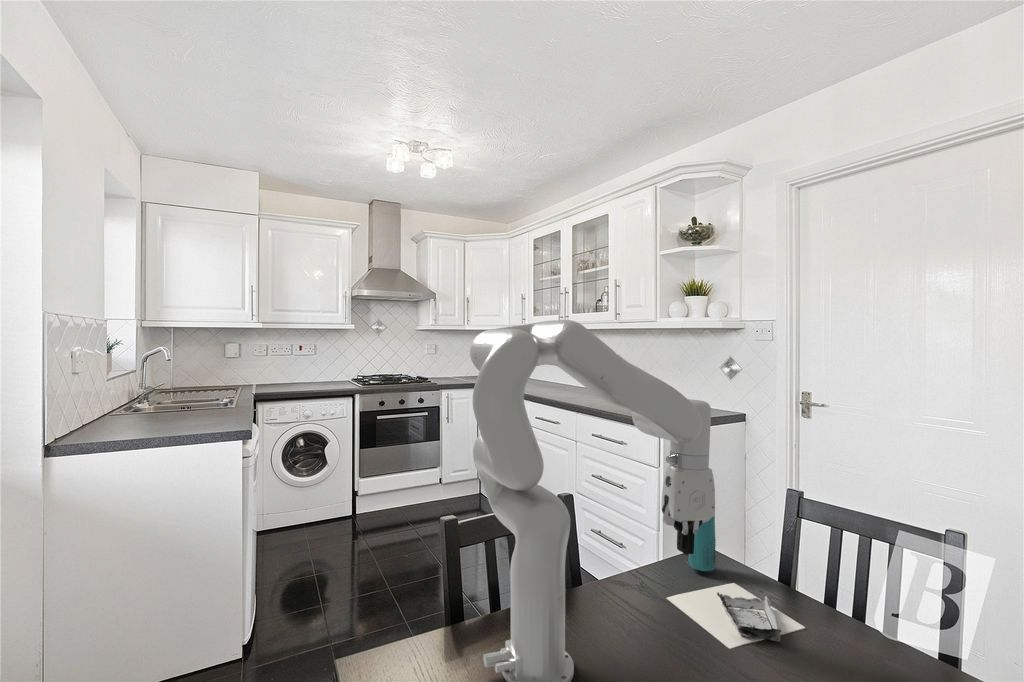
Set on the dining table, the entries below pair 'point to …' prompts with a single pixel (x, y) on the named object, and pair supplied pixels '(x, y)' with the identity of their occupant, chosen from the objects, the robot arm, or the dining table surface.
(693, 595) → the mat
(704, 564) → the beverage bottle
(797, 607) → the dining table surface
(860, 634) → the dining table surface
